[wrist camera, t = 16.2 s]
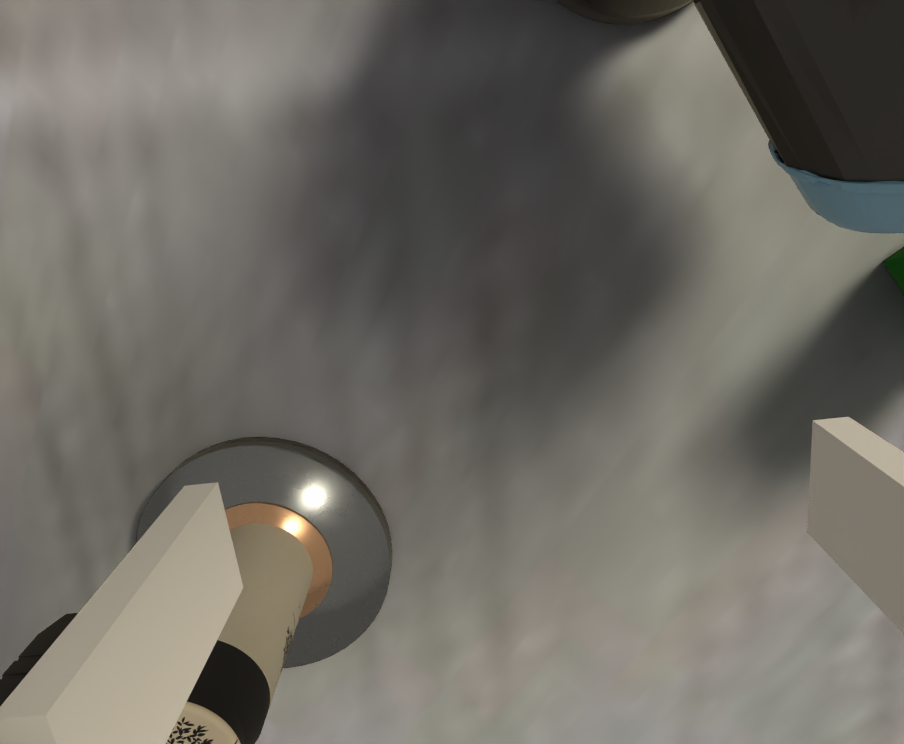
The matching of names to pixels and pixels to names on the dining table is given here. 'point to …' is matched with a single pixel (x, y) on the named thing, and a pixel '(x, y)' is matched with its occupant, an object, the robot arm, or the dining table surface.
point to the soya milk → (896, 268)
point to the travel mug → (249, 640)
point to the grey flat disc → (301, 529)
